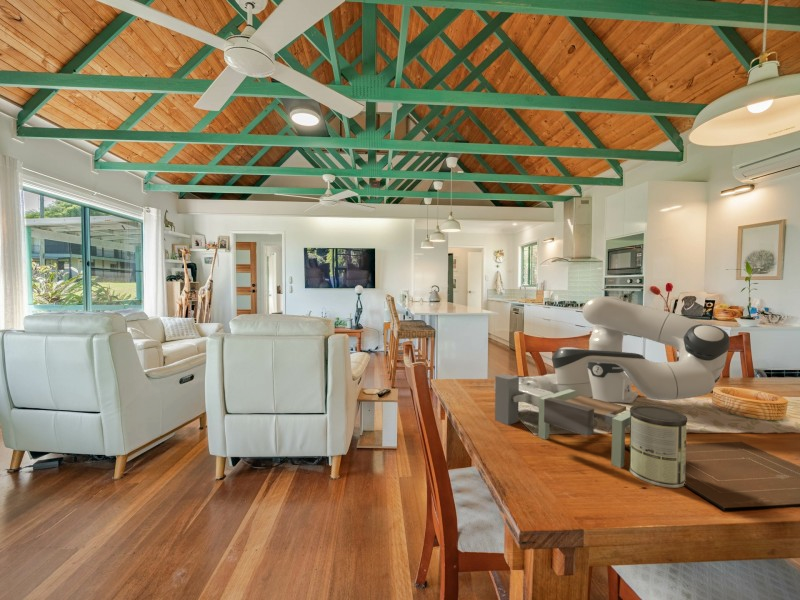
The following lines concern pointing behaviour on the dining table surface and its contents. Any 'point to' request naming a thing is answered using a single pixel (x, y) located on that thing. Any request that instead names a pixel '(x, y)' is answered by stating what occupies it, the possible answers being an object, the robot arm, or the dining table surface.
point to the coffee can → (658, 445)
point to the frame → (616, 421)
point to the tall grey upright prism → (506, 399)
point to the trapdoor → (578, 413)
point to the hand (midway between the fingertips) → (504, 396)
